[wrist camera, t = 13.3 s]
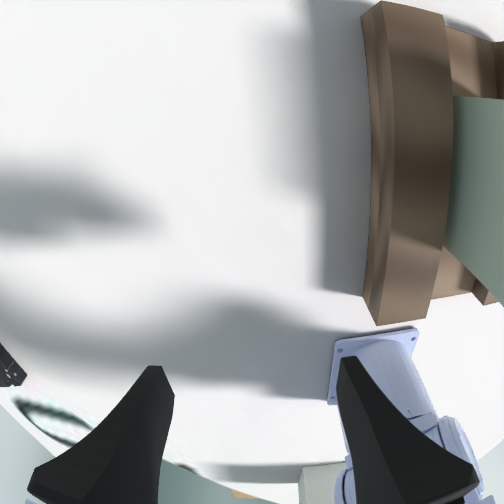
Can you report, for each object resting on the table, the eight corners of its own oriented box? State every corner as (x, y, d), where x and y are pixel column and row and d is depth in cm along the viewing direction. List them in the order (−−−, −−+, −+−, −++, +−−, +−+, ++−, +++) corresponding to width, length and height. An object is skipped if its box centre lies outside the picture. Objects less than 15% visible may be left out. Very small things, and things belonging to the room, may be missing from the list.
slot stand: (492, 277, 21) (512, 298, 18) (362, 297, 22) (376, 326, 19) (511, 57, 12) (539, 57, 9) (360, 16, 13) (380, 0, 10)
